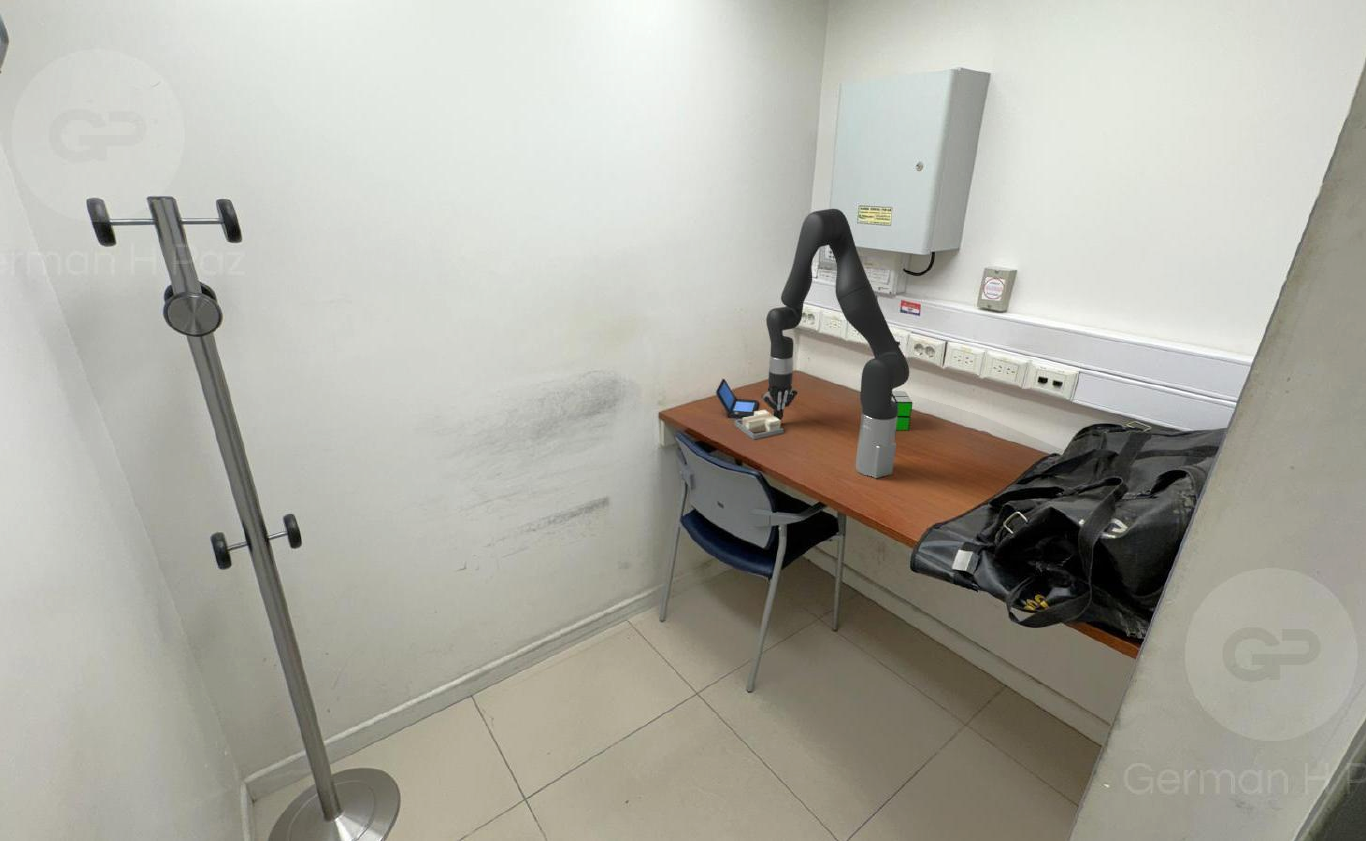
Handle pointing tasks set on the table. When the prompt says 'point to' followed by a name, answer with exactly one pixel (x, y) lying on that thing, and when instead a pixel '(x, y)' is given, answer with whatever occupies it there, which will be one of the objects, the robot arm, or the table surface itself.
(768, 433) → the frame
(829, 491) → the table surface
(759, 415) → the t block
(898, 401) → the puzzle cube
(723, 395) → the handheld game console
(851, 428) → the table surface
